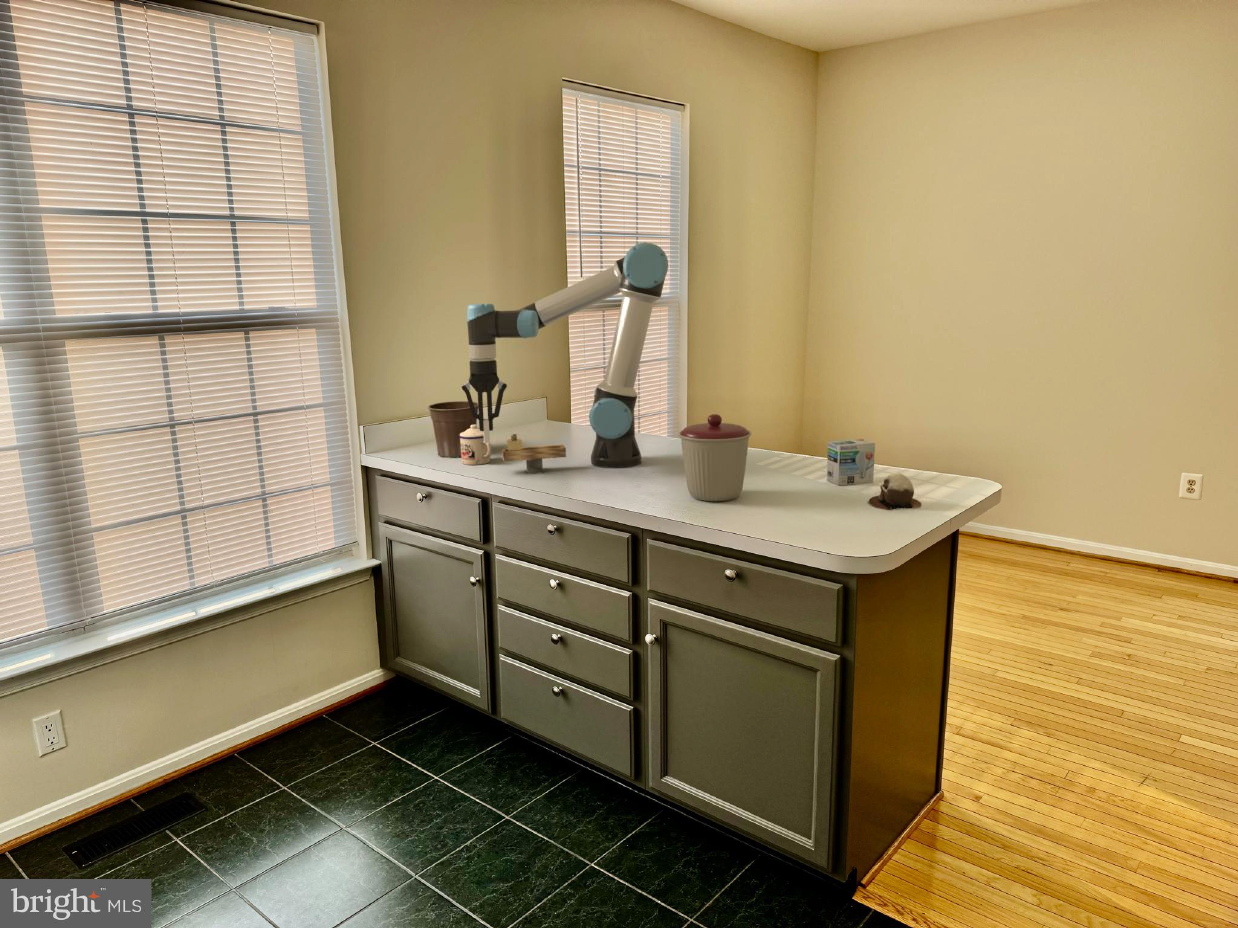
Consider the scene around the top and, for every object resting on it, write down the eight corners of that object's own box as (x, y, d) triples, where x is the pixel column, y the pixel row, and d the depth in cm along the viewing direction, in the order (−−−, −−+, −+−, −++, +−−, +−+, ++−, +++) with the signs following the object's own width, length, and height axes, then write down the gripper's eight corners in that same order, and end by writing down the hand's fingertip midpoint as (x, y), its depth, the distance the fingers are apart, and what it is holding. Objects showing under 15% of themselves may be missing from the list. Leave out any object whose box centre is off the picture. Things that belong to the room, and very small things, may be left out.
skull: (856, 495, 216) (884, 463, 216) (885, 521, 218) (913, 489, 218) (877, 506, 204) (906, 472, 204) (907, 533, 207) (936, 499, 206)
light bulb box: (838, 486, 230) (839, 445, 227) (825, 480, 236) (826, 441, 234) (874, 482, 233) (876, 442, 230) (861, 477, 239) (862, 438, 237)
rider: (521, 452, 257) (520, 433, 255) (522, 453, 254) (521, 434, 253) (507, 453, 256) (506, 434, 255) (508, 454, 253) (507, 435, 252)
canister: (694, 509, 212) (693, 422, 207) (669, 492, 228) (667, 411, 224) (763, 501, 216) (764, 417, 212) (733, 485, 233) (733, 406, 229)
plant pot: (473, 459, 275) (469, 408, 272) (423, 459, 278) (420, 408, 274) (488, 449, 291) (485, 401, 287) (442, 449, 293) (438, 401, 290)
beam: (563, 466, 262) (562, 444, 260) (566, 470, 256) (565, 448, 255) (502, 471, 258) (501, 448, 257) (504, 475, 252) (503, 452, 251)
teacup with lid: (455, 463, 271) (452, 425, 269) (478, 458, 278) (476, 421, 275) (479, 468, 263) (477, 429, 261) (503, 462, 270) (501, 425, 267)
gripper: (504, 357, 252) (508, 438, 257) (458, 359, 250) (463, 440, 255) (507, 359, 245) (510, 443, 250) (460, 361, 242) (464, 445, 248)
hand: (486, 441), depth 252 cm, fingers closed
